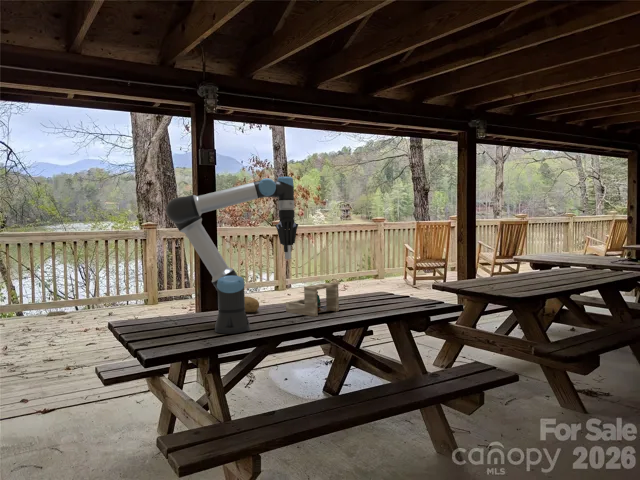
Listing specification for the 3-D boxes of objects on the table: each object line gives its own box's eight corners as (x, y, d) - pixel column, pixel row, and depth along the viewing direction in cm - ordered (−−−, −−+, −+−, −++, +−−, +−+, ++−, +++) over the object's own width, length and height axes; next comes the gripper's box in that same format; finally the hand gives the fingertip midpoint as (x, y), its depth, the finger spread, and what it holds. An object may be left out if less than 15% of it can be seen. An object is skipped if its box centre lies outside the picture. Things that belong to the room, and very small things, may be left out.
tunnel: (314, 316, 230) (314, 288, 229) (286, 311, 245) (285, 284, 244) (338, 310, 243) (338, 283, 242) (310, 306, 258) (309, 281, 257)
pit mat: (330, 309, 249) (330, 308, 249) (320, 307, 253) (320, 307, 253) (340, 306, 254) (340, 306, 254) (330, 305, 259) (330, 304, 259)
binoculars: (296, 293, 243) (309, 289, 250) (298, 313, 244) (311, 308, 251) (309, 295, 237) (322, 290, 244) (311, 315, 238) (324, 310, 245)
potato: (246, 315, 238) (246, 300, 237) (236, 311, 250) (236, 296, 249) (264, 313, 243) (263, 298, 242) (253, 309, 255) (253, 294, 254)
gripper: (281, 209, 215) (283, 260, 216) (301, 209, 225) (303, 258, 226) (270, 209, 220) (272, 259, 221) (291, 209, 230) (292, 257, 231)
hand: (288, 258), depth 224 cm, fingers closed
